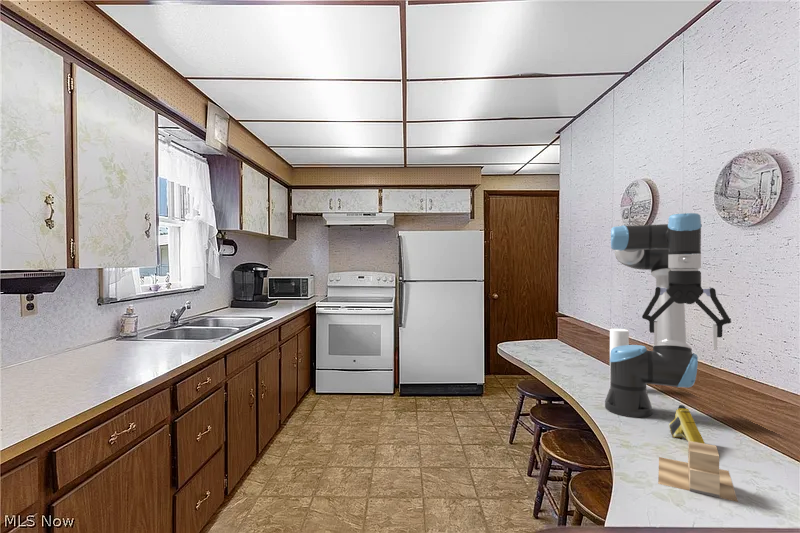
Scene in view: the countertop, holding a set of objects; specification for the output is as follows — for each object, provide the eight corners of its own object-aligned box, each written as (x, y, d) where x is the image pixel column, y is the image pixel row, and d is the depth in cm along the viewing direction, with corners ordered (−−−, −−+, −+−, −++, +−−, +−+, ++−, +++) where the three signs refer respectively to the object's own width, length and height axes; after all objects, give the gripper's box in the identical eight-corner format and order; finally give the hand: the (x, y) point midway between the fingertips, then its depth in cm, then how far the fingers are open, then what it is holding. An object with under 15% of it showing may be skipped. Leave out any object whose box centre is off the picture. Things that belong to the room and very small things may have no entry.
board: (658, 462, 116) (658, 456, 116) (728, 476, 108) (728, 470, 108) (658, 489, 102) (658, 483, 102) (737, 508, 94) (737, 501, 94)
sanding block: (688, 475, 105) (688, 439, 105) (715, 481, 103) (715, 444, 102) (690, 491, 99) (689, 452, 99) (719, 497, 96) (719, 457, 96)
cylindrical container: (631, 389, 181) (631, 330, 180) (623, 392, 176) (623, 331, 176) (615, 385, 186) (614, 328, 186) (606, 388, 182) (606, 329, 182)
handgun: (676, 427, 134) (685, 400, 128) (701, 484, 118) (713, 458, 112) (667, 426, 135) (676, 400, 128) (691, 484, 119) (702, 457, 113)
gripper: (632, 270, 121) (632, 344, 121) (744, 270, 108) (744, 354, 108) (633, 269, 128) (633, 340, 128) (739, 269, 114) (739, 348, 115)
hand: (684, 346), depth 118 cm, fingers open, 13 cm apart
